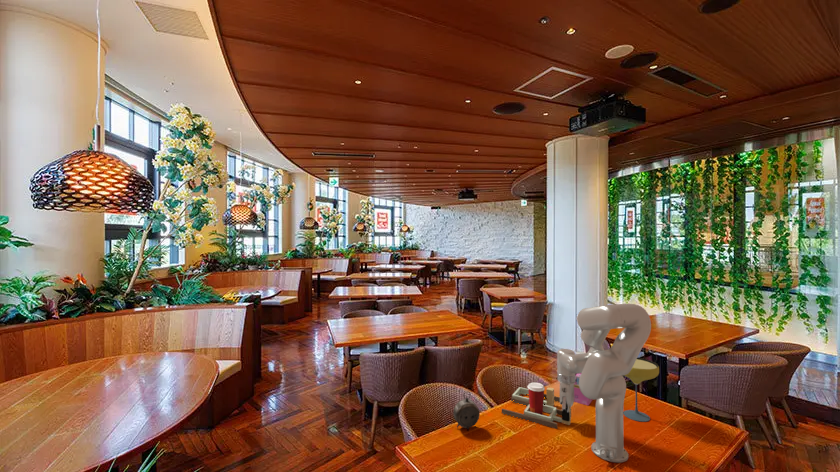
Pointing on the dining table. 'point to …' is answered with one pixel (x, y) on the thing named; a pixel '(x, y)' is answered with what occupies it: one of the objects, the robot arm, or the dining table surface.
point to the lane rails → (530, 418)
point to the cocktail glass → (638, 374)
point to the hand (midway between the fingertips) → (566, 418)
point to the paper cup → (536, 397)
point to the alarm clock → (466, 413)
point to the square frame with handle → (526, 391)
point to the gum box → (578, 394)
